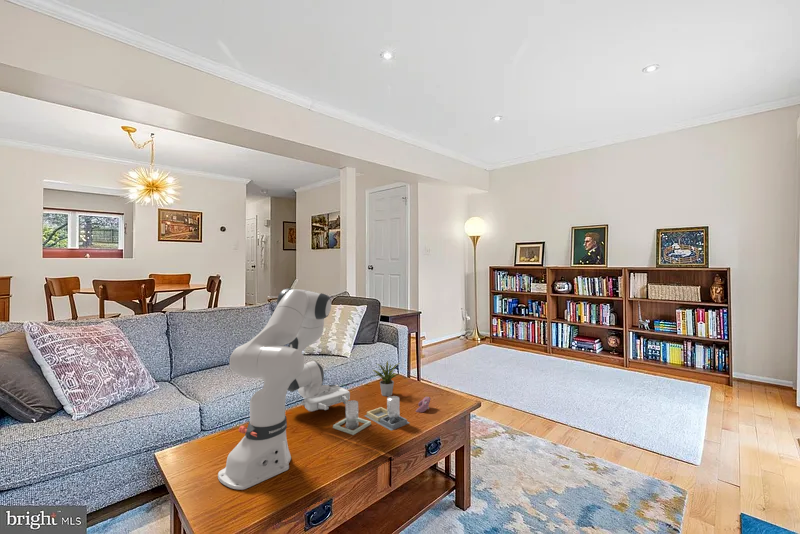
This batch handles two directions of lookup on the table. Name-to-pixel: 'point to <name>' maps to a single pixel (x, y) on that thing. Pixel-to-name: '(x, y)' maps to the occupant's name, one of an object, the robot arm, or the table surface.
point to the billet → (393, 409)
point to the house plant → (386, 380)
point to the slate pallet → (384, 419)
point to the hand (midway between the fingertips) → (337, 404)
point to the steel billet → (351, 414)
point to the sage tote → (338, 427)
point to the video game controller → (423, 404)
